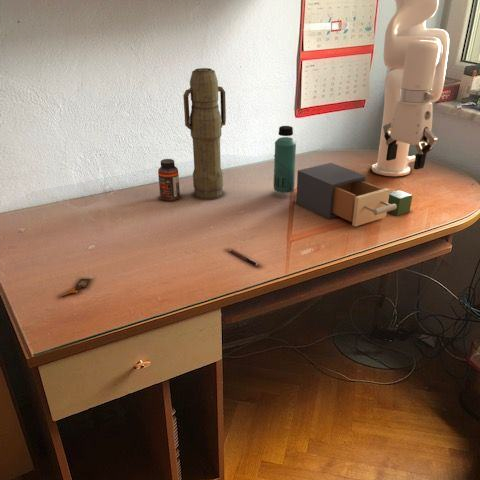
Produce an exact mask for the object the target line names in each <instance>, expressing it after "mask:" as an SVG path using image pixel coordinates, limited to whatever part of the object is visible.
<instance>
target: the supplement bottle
mask: <svg viewBox="0 0 480 480" xmlns="http://www.w3.org/2000/svg"><path fill="white" fill-rule="evenodd" d="M157 175H158V188H159V197H160V199H161V200H163V201H165V202H172V201H176V200H179V199H180V197H181V191H180V177H179V169H178V167H176V164H175V159H172V158H163V159H160V167H159V168H158V170H157Z"/></svg>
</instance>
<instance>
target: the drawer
mask: <svg viewBox="0 0 480 480" xmlns="http://www.w3.org/2000/svg"><path fill="white" fill-rule="evenodd" d="M390 192H391V189H390V188H388V187H385V188H382V187H380V186H377V185H375V184H372V183H370V182H367V181H366V182H365V181H362V180H359V181H355V182H351V183H347V184H344V185H340V186H336V187H334V192H333V203H332V213H333V214H335V215H337V216H336V217H340V218H342V219H344V220H346V221H348V222H350V223H351V224H352V226H353V227H358V226H361V225H365V224H369V223H371V222H374V221H378V220H380V219H384V218H386V217H387V213H389V212H388V211H391V210H395V209H396V208H397V205H396V204H389V203H388V200H389V193H390Z"/></svg>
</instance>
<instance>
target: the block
mask: <svg viewBox="0 0 480 480" xmlns="http://www.w3.org/2000/svg"><path fill="white" fill-rule="evenodd" d="M412 199H413V194H411V193H409V192H406V191H404V190H400V189H396V190H394V191H393V190H392V191H390V193H389V200H388V203H389V204H396V205H397V208H396V209H395V210H391V211H388V212H387V213H390V214H392V215H394V216H397V217H399V216H401V215H404V214H407V213H408V214H409V213H410V212H411V208H412V207H411V206H412V201H413V200H412Z"/></svg>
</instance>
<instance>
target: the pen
mask: <svg viewBox="0 0 480 480" xmlns="http://www.w3.org/2000/svg"><path fill="white" fill-rule="evenodd" d="M228 251H229V252H230V253H231V254H233V255H235V256H237V257H239V258H240V259H242V260H244V261H246V262H247V263H249V264H252V265H253V266H256V267H260V264H259V263H258V262H257V261H256V260H254V259H252V258H250V257H249V256H245V255H243V254H241V253H239V252H237V251H235V250H234V249H229V250H228Z"/></svg>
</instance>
